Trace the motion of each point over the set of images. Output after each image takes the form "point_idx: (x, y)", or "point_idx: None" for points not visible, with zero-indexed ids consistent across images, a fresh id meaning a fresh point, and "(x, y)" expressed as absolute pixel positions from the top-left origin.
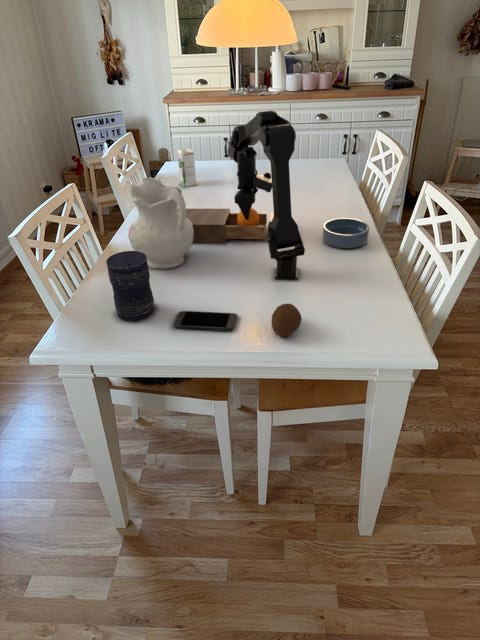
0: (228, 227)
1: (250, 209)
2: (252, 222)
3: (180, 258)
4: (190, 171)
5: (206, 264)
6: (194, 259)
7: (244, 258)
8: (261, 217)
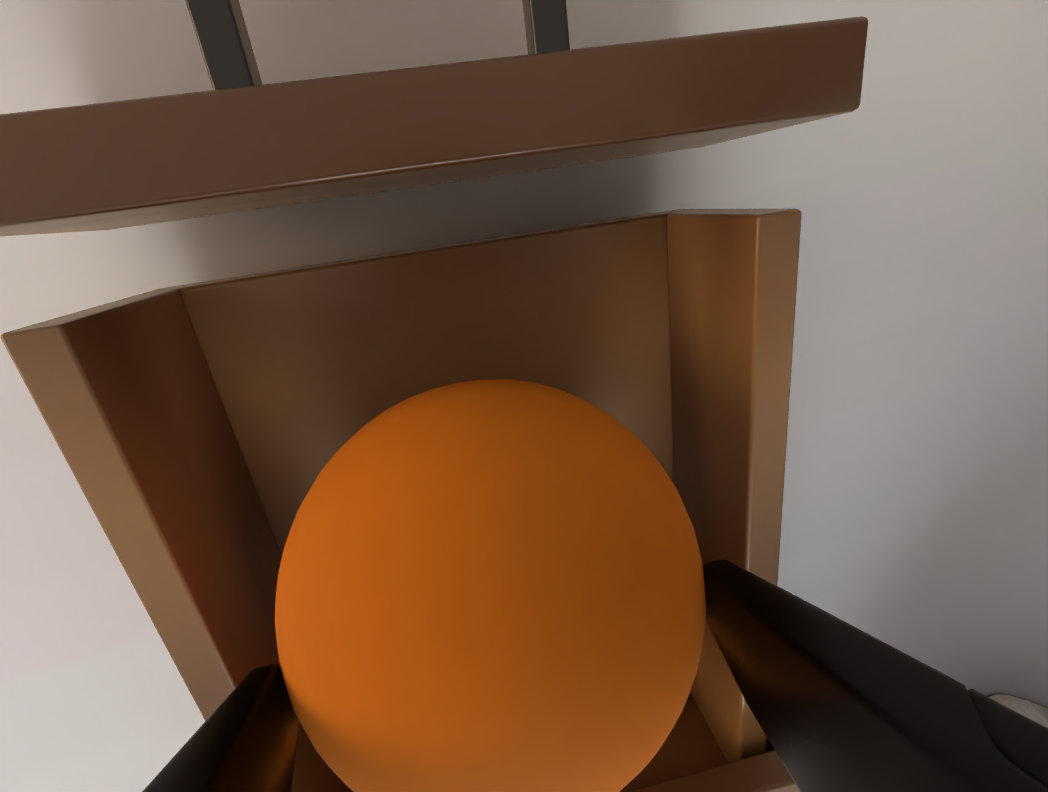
0: None
1: (572, 710)
2: (660, 465)
3: None
4: None
5: (1044, 565)
6: (956, 660)
7: (1009, 325)
8: (157, 406)
